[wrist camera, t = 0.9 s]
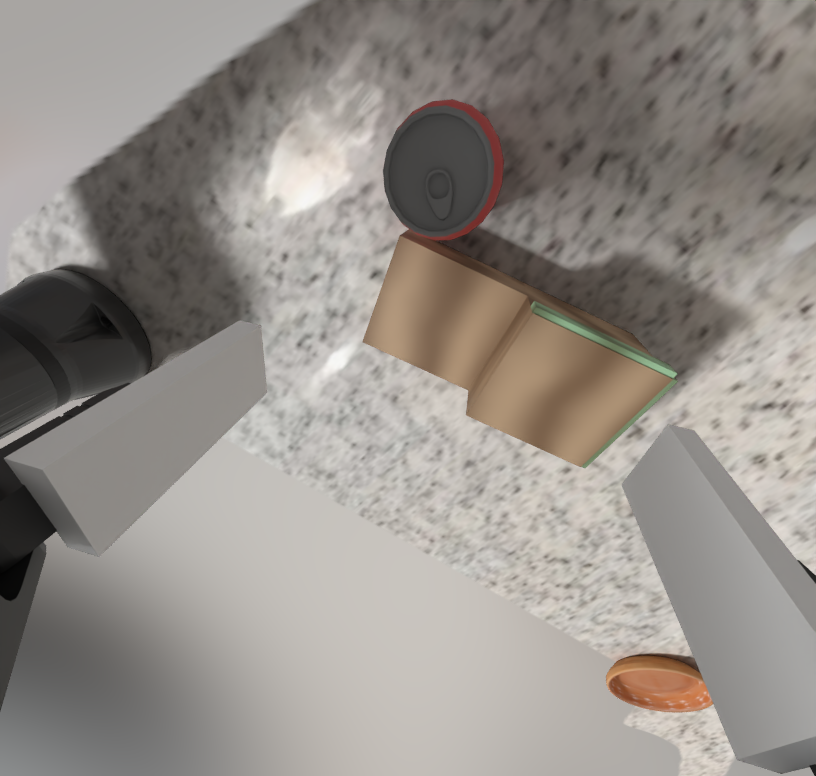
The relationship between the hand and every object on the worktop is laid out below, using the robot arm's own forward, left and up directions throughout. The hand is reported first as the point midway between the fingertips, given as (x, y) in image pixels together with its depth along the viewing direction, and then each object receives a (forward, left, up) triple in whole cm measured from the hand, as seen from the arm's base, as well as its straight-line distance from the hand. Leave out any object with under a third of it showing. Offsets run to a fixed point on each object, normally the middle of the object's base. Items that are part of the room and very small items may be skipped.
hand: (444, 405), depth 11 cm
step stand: (+5, -5, -22) cm, 23 cm away
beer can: (-4, +5, -23) cm, 24 cm away
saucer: (+61, -49, -23) cm, 81 cm away
